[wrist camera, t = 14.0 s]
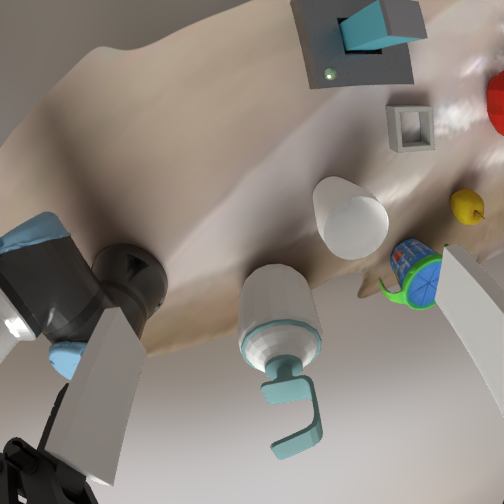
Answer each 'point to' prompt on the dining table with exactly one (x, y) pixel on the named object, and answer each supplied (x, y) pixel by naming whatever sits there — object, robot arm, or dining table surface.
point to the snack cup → (415, 274)
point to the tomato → (496, 102)
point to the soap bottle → (282, 343)
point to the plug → (382, 26)
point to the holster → (425, 128)
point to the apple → (467, 206)
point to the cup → (349, 218)
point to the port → (332, 51)
